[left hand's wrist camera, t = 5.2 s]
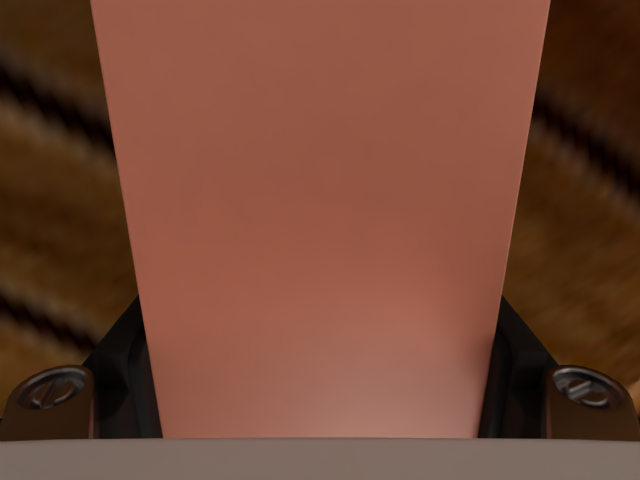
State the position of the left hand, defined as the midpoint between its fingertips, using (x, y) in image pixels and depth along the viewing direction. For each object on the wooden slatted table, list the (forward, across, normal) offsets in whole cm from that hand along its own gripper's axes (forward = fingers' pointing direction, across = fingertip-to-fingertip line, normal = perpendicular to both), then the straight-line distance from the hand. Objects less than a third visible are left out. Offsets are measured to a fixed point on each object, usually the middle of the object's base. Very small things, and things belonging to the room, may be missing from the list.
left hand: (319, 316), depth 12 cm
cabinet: (+6, 0, -6) cm, 8 cm away
